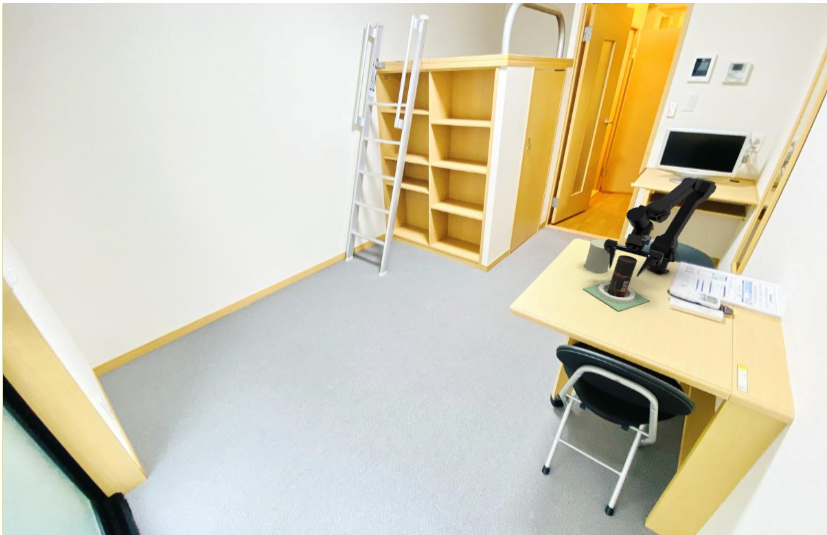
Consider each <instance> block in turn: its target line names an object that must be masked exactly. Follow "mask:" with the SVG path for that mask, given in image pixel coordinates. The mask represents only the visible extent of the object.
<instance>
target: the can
mask: <svg viewBox="0 0 827 535" xmlns="http://www.w3.org/2000/svg"><path fill="white" fill-rule="evenodd" d="M606 240H607V239H598V238H597V239H592V240H591V241H590V246H589V249H588V253H587V255H586V260H585V263H584V266H583V267H584V268H585V270H587V271H588V272H589V271H590V272H592V273H597V274H605V273H607V272H608V271H609V270H608V269H609V261H610V254H609V253H607V251H606V250H604V243H605V241H606Z"/></svg>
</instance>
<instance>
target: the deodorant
mask: <svg viewBox="0 0 827 535" xmlns="http://www.w3.org/2000/svg"><path fill="white" fill-rule="evenodd" d="M637 263H638V259H637V258H635V257H633V256H631V255H624V254H621V255H619V256H618V258H617V261H616V263H615V267H614V269H613V273H612V275H611V278H610V280H611V282H610V285H609V288H608V291H607V293H608V294H610V295H612V296H615V297H621V298H624V297H625V294H626V291H627V289H628V288H629V286H630V283H631V281H632V280H631V279H632V277H633V274H634V271H635V269H636V266H637Z"/></svg>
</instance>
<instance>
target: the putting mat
mask: <svg viewBox="0 0 827 535" xmlns="http://www.w3.org/2000/svg"><path fill="white" fill-rule="evenodd" d="M610 282H611V279H610V280H606V281H604V282H600V283H596V284H593V285H590V286H586V287H583V288H582V290H583V291H585V292H587V293H588V294H589V295H591V296H593V297H594V298H596V299H597V300H599V301H600V302H602V303H603V304H606V305H607V306H608V307H609V308H612V309H613V310H614V311H616V312H617V313H618V312H623V311H624V310H628V309H631V308H635V307H637V306H640V305H644V304H646V303H650V301H651V300H650V299H649V298H646V297H645V296H643V295H642V294H639V293H638V292H636V291H635V290H633V289H632V288H630V287H628V289H627V291H626V294H625V297H624V298H621V297H615V296H612V295H610V294H608V293H607V291H608V288H609V285H610Z"/></svg>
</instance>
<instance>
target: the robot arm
mask: <svg viewBox="0 0 827 535" xmlns="http://www.w3.org/2000/svg"><path fill="white" fill-rule="evenodd" d="M716 190H717V185H716V182H715V181H712V180H707V179H704V178H699V177H695V178H694V177H684V178H683V180H681V183H679V184H678V185H676V186H675V187H674V188H673V189H672V190H671V191H669V192H668V193H667V194H666V195H665V196H663V197H662V198H660V199H657V200H653V201H651V202H650V203H648V204H647V205H643V204H639V206H635V207H632V208H630V209H628V211H627V212H626V215H625V216H626V219H627V221H628V222H629V224H630V225H631V227H632V231H631V233H628V235H627V238H626V240H625V242H624V245H621V244H619V241H618V240H614V239H610V238H608V239H607V238H606V239H605V240H606V241H605V243H604V250H606V251H607V253H609V254H610V261H609V266H608V269H611V268H612V266H613V263H614V261H615V257H616V251H619V252H620V251H621V252H623V253H629V254H632V255H634V256H635V255H636V256H639V257H642V258H643V257H644V258H645V260H644V262H643V264H642V265H641V267H640V268H639V270H638V272H637V273H636V277H640V275H641V274H642V273H643V272H645V271H646V270H648V271H650V272H652V273H654V274H656V275H663V274H666V273H670V269H667V268H668V265H669V263H675V262H676V261H677V259H678V257H679V254H678V251H677V249H678V247H679V236H680V235H681V234H682V232H683V230H684V229H685V227H686V226H687V224H688V222H689V220H691V217H692V216H693V214H694V213H695V211H696V210H697V209H698V207H699V205H700V204H702V203H704V202H705V201H707V200H708V199H709V198H710V197H711V195H712V194H714V193H715V191H716ZM682 201H683V202H682ZM681 202H682V204H681V205H680V208H679V209H678V210H677V212H676V214H675V215H674V217H673V218H672V220H671V222H670V224H669V225H668V226H667V228H666V230H665V232H664V233H663V234H661V235H657V236H655V238H654V239H653V241H651V240H652V237H653V236H651V235H650V234H652V231H654V228H655V227H654V223H653V222H655V223H658V224H662V223H663V222H665V221H667V220H668V218H669V217H670V215H671V212H672V209H674V208H675V207H676V206H677V205H678V204H680V203H681ZM645 246H649V249H648V250H649V252H647V251H645V250H644V249H645Z"/></svg>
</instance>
